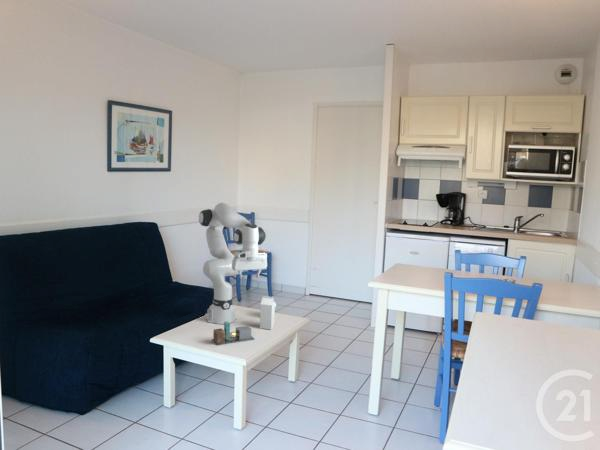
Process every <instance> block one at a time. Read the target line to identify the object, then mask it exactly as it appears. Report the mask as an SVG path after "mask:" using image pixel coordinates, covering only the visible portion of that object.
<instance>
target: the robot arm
mask: <svg viewBox="0 0 600 450" xmlns="http://www.w3.org/2000/svg"><path fill="white" fill-rule="evenodd" d="M198 222H199V224H200V226H202V227H207V228H206V231H205V234H206V235H205V238H206V242H207V246H208V249H209V254H210V255H211V256H212V257H213V259H209V260H206V261H205V262H204V263H203V266H202V270H203V271H202V272H203V274H204V275H205V276H206V277H207V278H208V279H209V280H210V281H211V283H212V286H213V299H212V304H210V306H209V307H208V309H207V310H206V311H207V312H206V313H205V314H204V317H205V319H206V322H207V323H210V324H212V323H213V324H218V325H224V322H226V321H228V322H229V323H230V324H231V323H233V322H235V321H236V320H237V319H238V316H236V314H235V313H236V311H235V310H236V308H235V306H234V305H233V303H234V298H233V286H232V284H231V283H229V282H228V281H225V277H232V276H233V277H234V276H237V275H239V279H244V277H245V276H244V274H242V273H243V271H251V270H252V271H253V270H256V271H257V272H256V273H255V278H260V274H261V272H262V270H265V269H267V268H268V254H267V253H266V252H264V251H263V252H259V246H260V245H262V244H263V243H264V242H265V241H266V237H267V236H266V232H265V231H264V229H263V228H262V227H260V226H258V225H257V224H255V223H253V222H252V221H251V220H249V219H248V218H247V217H246V216H243V215H241V214H240V213H238V212H236V211H235V210H234V209H233V208H232V206H230V205H229V204H227V203H225V202H219V203H217V204H216V205H215V206H214V209H210V208H207V209H204V210H201V211H200V212H199V214H198ZM227 229H235V231H234V232H233V242H235V244H237V245H238V246H242V248H241V249H239V250H236V251H234V253H232V252H231V250H230V249H229V248H228V245H227V242H226V239H225V236H224V233H223V230H227Z"/></svg>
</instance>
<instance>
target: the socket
mask: <svg viewBox="0 0 600 450" xmlns="http://www.w3.org/2000/svg"><path fill="white" fill-rule="evenodd" d="M212 333H213V340H214V341H215V342H216V343H224V342H225V331H224V328H214V329H213V332H212Z"/></svg>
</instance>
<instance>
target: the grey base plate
mask: <svg viewBox="0 0 600 450" xmlns="http://www.w3.org/2000/svg"><path fill="white" fill-rule="evenodd" d="M237 331H239V337H234V338H230V340H225V342H224V343H216V342H215V341H214V340H213V339H211V341H212V343H214V344H215V345H216V346H220V345H221V346H222V345H226V344H227V345H228V344H235V343H241V342H248V341H254V340H255V338H254V337H253V335H252V328H250V327H249V326H248V325H244V326H237V327H235V332H237Z"/></svg>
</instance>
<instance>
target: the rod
mask: <svg viewBox="0 0 600 450" xmlns="http://www.w3.org/2000/svg"><path fill="white" fill-rule="evenodd" d="M223 330H224V331H225V340H230V338H234V337H239V331H237V332H236V331H231V323H229V322H228V321H226V322H224V324H223Z"/></svg>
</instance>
